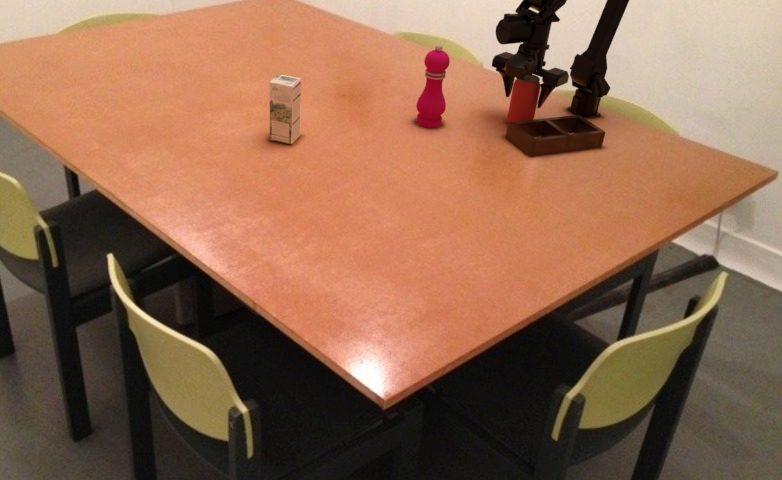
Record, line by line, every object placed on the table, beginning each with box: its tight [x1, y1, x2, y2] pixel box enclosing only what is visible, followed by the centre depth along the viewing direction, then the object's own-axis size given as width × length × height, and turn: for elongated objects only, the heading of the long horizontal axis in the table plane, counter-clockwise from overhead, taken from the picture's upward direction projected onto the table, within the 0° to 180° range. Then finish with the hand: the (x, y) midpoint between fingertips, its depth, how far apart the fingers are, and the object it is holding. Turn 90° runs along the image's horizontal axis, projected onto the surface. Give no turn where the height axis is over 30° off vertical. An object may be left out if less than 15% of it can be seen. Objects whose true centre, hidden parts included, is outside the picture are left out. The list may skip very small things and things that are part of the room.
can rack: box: [505, 114, 607, 157], centre depth 187 cm, size 21×11×4 cm, turn 111°
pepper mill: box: [416, 43, 451, 129], centre depth 188 cm, size 7×7×20 cm
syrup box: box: [269, 73, 302, 145], centre depth 177 cm, size 6×6×14 cm
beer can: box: [506, 74, 541, 123], centre depth 194 cm, size 7×7×12 cm
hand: (523, 102), depth 194 cm, fingers open, 9 cm apart
